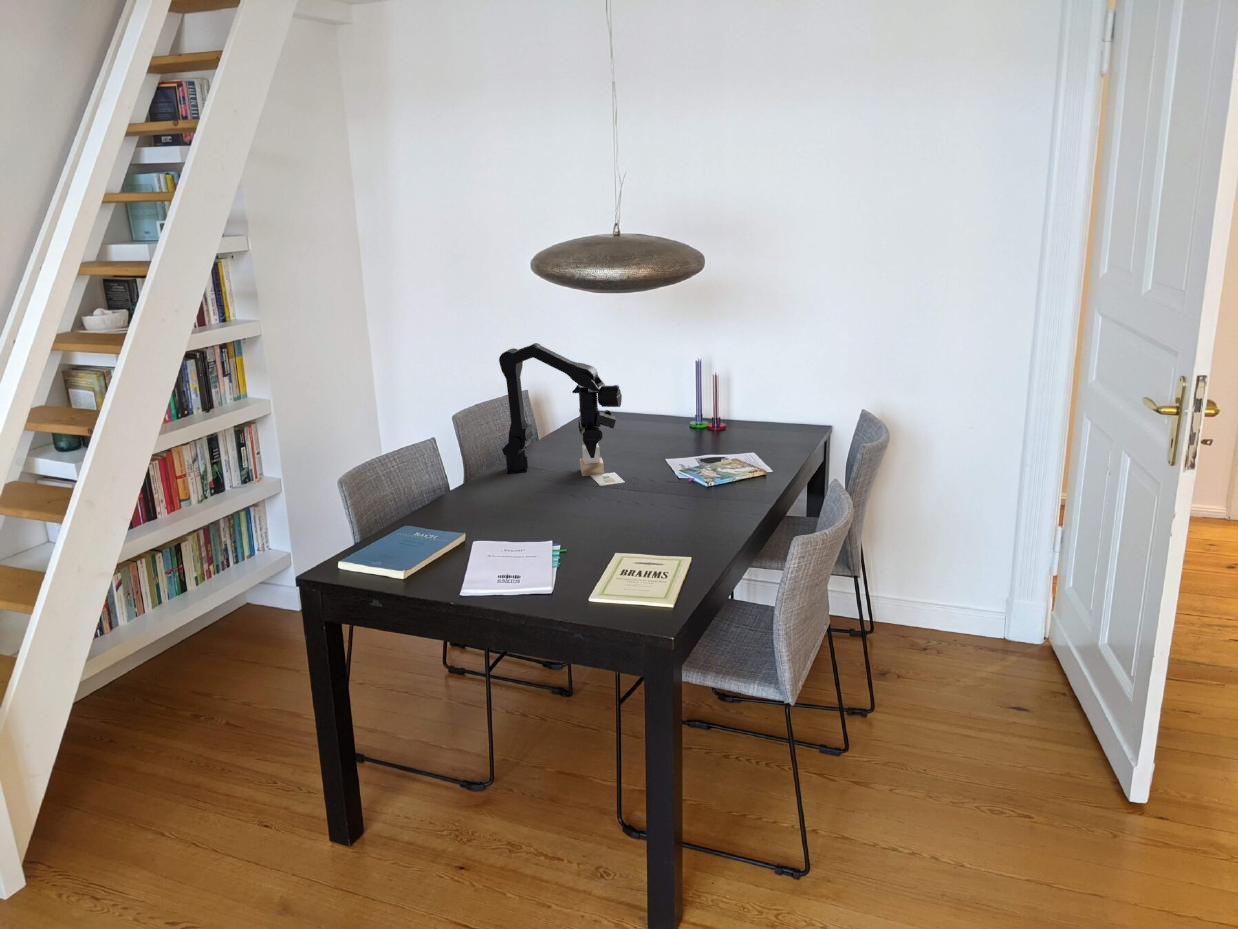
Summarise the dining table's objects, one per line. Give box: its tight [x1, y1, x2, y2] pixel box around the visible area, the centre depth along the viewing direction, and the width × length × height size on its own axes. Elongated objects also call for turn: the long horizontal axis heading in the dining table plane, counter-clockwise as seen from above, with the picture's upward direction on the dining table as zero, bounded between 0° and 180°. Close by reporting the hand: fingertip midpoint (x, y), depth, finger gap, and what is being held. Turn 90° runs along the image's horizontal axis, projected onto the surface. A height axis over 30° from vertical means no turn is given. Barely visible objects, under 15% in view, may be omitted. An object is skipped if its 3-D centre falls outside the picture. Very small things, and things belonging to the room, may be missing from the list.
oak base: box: [579, 456, 605, 477], centre depth 304 cm, size 7×7×4 cm
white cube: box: [581, 442, 601, 464], centre depth 303 cm, size 5×5×5 cm
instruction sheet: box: [590, 472, 626, 487], centre depth 296 cm, size 8×11×1 cm
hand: (591, 454), depth 303 cm, fingers open, 9 cm apart
